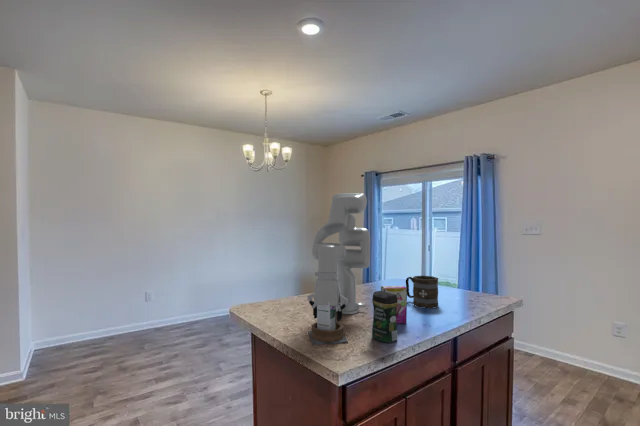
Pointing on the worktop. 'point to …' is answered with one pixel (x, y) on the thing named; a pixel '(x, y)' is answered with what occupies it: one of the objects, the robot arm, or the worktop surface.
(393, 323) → the coffee jar
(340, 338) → the collar
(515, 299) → the worktop surface
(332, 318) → the syrup box
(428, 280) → the mug
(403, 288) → the candy bar box
